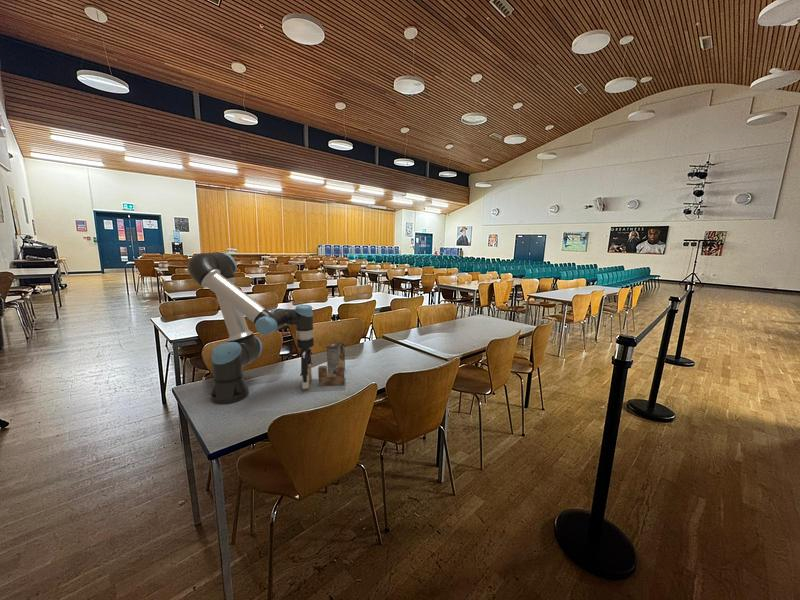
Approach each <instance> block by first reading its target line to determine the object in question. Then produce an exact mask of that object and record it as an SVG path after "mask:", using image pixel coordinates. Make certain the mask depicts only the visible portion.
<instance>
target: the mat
mask: <svg viewBox="0 0 800 600" xmlns="http://www.w3.org/2000/svg"><path fill="white" fill-rule="evenodd" d="M344 378H345V384H344V385H337V386H319V378H316V379H315V378H314V379H312V382H311V384H310V389H309V390H302V389H301V391H300V393H317V392H335V391H336V392H337V391H346V383H347V382H346V381H347V378H346V377H344Z"/></svg>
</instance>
